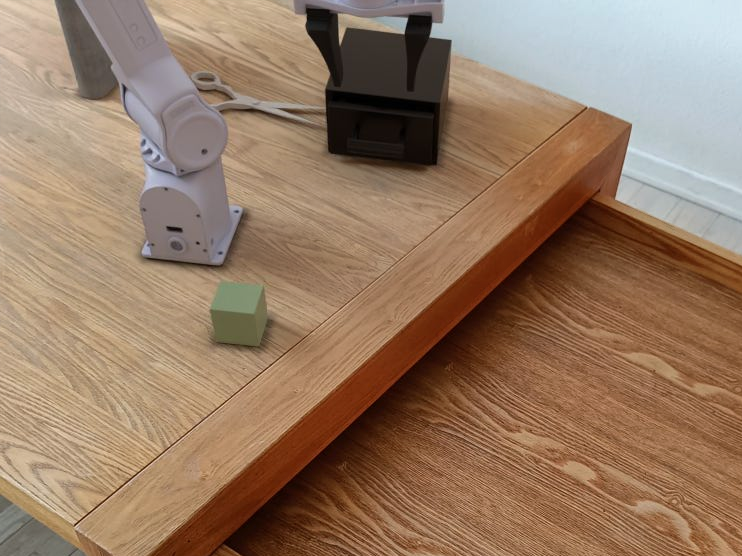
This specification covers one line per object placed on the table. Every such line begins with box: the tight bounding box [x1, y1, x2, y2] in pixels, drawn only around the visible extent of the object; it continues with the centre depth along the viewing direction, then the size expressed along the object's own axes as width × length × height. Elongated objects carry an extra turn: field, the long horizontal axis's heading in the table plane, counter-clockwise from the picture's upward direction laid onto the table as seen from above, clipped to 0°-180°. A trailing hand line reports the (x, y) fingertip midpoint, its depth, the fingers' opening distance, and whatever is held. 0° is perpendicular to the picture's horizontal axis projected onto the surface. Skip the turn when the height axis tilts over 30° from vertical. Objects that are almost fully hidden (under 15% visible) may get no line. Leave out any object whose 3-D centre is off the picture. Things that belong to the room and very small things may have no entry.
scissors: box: [190, 70, 326, 127], centre depth 105 cm, size 11×1×20 cm
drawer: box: [328, 98, 434, 167], centre depth 101 cm, size 18×11×6 cm, turn 176°
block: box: [209, 280, 269, 348], centre depth 81 cm, size 4×4×4 cm
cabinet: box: [324, 26, 453, 166], centre depth 103 cm, size 15×13×8 cm
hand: (375, 84), depth 93 cm, fingers open, 7 cm apart
